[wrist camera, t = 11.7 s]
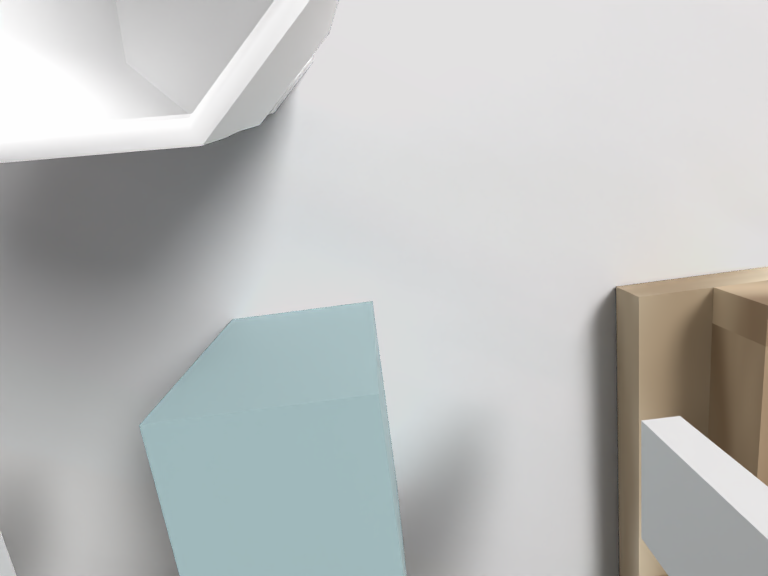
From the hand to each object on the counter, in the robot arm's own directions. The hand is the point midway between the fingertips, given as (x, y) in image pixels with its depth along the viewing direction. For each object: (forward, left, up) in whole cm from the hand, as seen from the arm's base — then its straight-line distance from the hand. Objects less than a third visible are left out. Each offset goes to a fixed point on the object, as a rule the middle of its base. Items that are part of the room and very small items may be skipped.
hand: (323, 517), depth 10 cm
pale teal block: (0, 0, -5) cm, 5 cm away
